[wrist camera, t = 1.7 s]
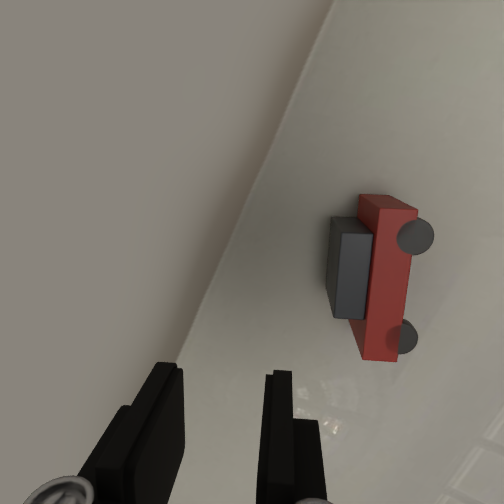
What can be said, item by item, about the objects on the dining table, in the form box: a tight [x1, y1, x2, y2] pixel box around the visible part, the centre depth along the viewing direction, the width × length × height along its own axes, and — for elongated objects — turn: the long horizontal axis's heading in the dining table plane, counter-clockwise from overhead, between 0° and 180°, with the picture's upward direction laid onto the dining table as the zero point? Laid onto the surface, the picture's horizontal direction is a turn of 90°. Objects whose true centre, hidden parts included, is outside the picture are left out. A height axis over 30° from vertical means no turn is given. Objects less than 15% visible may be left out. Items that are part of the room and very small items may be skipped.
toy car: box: [326, 194, 434, 362], centre depth 24 cm, size 9×5×6 cm, turn 178°
